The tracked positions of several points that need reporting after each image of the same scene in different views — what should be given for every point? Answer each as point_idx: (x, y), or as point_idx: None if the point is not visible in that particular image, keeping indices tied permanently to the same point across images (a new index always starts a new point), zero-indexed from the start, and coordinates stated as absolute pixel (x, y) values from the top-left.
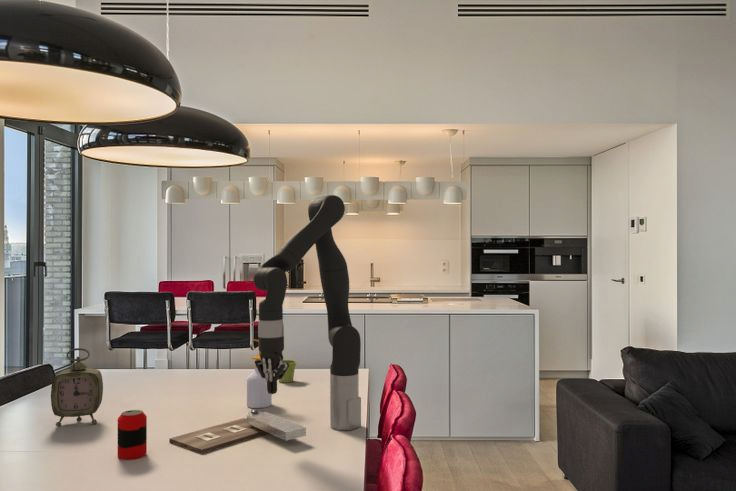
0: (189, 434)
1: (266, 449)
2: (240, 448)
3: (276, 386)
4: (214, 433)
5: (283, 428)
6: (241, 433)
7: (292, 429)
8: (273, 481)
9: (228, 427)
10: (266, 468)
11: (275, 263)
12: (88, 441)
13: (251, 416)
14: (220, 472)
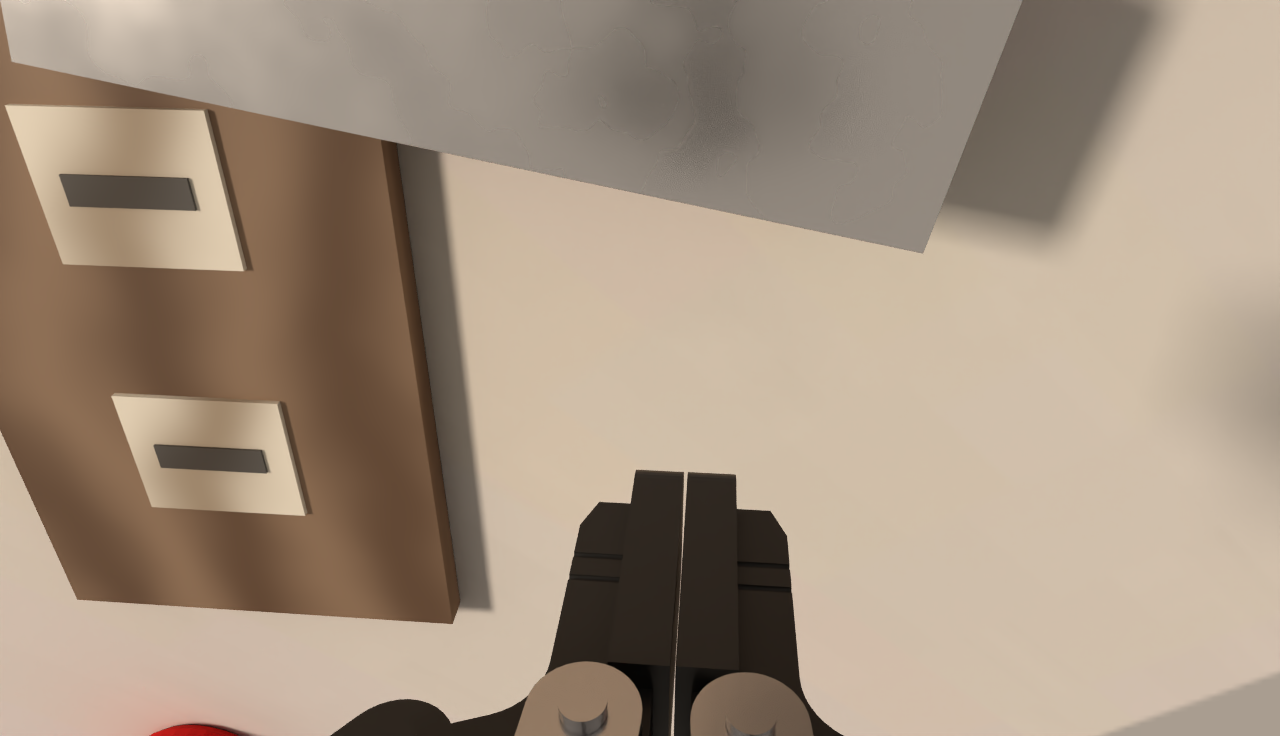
0: (59, 488)
1: (755, 311)
2: (563, 408)
3: (788, 607)
4: (149, 374)
5: (798, 166)
6: (300, 238)
7: (923, 128)
8: (1215, 661)
9: (52, 204)
10: (1038, 560)
11: None
12: None
13: (82, 47)
14: (820, 709)
